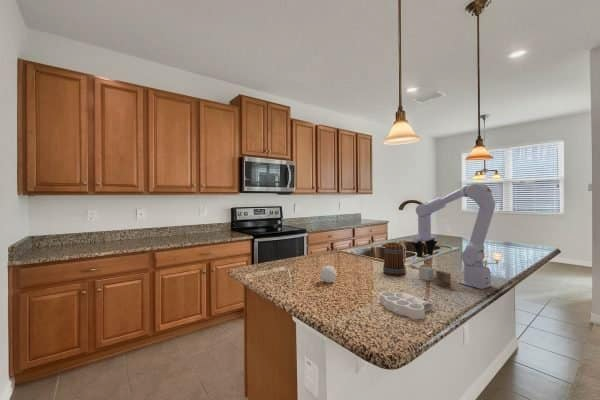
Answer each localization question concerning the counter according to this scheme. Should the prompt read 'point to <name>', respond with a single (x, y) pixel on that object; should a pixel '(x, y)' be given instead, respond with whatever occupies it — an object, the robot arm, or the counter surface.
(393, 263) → the mug
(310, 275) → the counter surface
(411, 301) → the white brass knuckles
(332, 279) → the ball
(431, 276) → the white small block
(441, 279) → the wall
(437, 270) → the door
